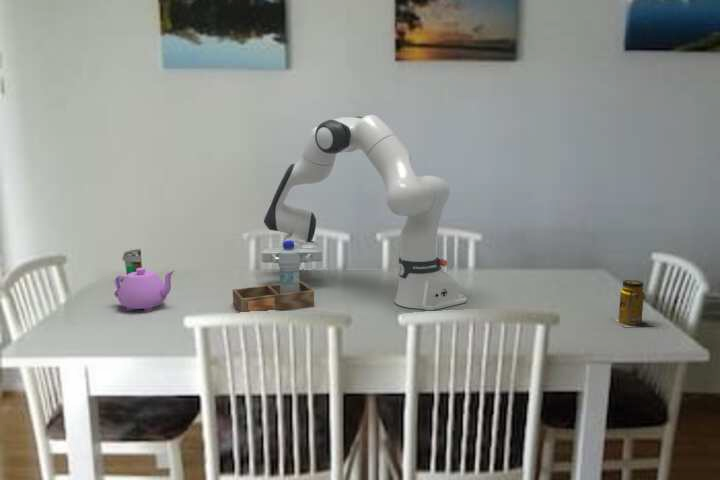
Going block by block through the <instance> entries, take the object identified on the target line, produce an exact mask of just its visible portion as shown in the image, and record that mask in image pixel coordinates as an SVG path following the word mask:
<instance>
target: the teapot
mask: <svg viewBox="0 0 720 480" xmlns="http://www.w3.org/2000/svg"><path fill="white" fill-rule="evenodd" d="M174 272H176V269H174V270H171V271H168V272H167V273H165V277H164V282H163V281H162V279H161V277H160V276H159V275H158V274H157V273H156V272H154V271H153V270H152V271H151V270H147V269H146V267H142V268H137V269H136V272H132V273H129V274H128V275H127V274H125V273H122V274H119V275H117V276H116V277H115V279H114V283H115V286H116V289H117V290H115V291H114V297H115V298H117V300H118V303H120V304H121V305H122V306H123V307H124V308H126V309H125V311H127V312H128V311H134V310H139V309H140V310H141V309H142V310H144V312H151V311H153V308H154V307H158V306H160V305H162V303H163V302H165V300H166V298H167V295H169V293H170V291H171V288H172V281H171V280H172V279H171V278H172V275H173V273H174ZM121 278H122V279H123V281H122V282H120V279H121ZM120 283H121V284H120Z"/></svg>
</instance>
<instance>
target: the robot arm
mask: <svg viewBox="0 0 720 480" xmlns="http://www.w3.org/2000/svg"><path fill="white" fill-rule="evenodd" d="M358 150H361V151H362V152H363V153H364V155H365V156H366V158H368V160H369V162H371V164H372V166H373V167H374V168H375V170H376V172H378V174H379V176H380V177H381V179H382V181H383V182H384V183H383V184H384V187H385V188H386V189H385V190H386V204H387V207H388V209H389V210H390V211H391V212H392V213H393V214H394V215H396V216H401V217H406V222H405V224H404V225H403V228H402V229H401V232H400V235H399V236H400V237H399V241H400V242H399V244H400V246H399V248H400V249H399V251H400V252H399V254H400V255H399V257H398V268H397V269H398V276H399V277H398V285H397V290H396V296H395V297H394V303H395V304H396V305H398V306H400V307H404V308H409V309H417V310H418V309H420V310H425V311H435V309H436V310H439V309H444V308H448V307H452V306H458V305H461V304H464V303H467V297H466V296H465V295H464V294H463V293H460V288H459V283H458V282H457V280H456V279H455V278H454V277H452V276H451V275H449V274H448V273H447V272H446V271H444V270H443V269H442V267H447V266H448V261H447V260H446V259H443V258H441V259H440V258H439V257H437V243H438V242H437V236H438V230H439V225H440V221H441V217H442V213H443V210H444V207H445V205H446V203H447V201H448V199H449V196H450V188H449V185H448V183H447V182H446V181H445V179H443V178H442V177H439V176H436V175H435V176H434V175H431V174H430V175H429V174H428V175H423V176H418V175H417V173H416V172H415V171H414V168H413V166H412V162H411V160H412V156H411V153H410V152H409V150H408V149H407V148H406V147H405V145H404V144H403V143H402V141H401V140H400V139H399V137H398V136H397V135H396V134H395V132H394V131H393V130H392V129H391V127H390V126H388V124H386V123H385V122H384V121H383V120H382V119H381V118H380V117H378V116H377V115H375V114H367V115H365V116H353V117H351V116H348V117H345V116H343V117H337V118H334V119H328V120H325V121H323V122H321V123H320V124H319V125H317V126H315V127H314V128H312V130H311V131H310V133H309V135H308V137H307V140H306V142H305V145H304V147H303V150H302V154H301V156H300V158H299V160H298V161H297V162H296V163H292V164H290V165H289V166H288V167H287V169H286V171H285V172H284V174H283V177H282V179H281V180H280V183H279V184H278V187H277V189H276V191H275V193H274V196H273V198H272V200H271V202H270V203H269V204H268V206H267V207H266V209H265V211H264V215H263V223H264V225H265V227H267V229H268V230H269V231H275V232H280V233H285V234H286V235H285V236H284V238H283V239H282V242H281V246H280V247H266V248H264V249H263V250H262V251H261V262H262V263H274V264H279V263H278V259H279V251H281V250H282V249H284V248H283V243H284V242H285V241H293V242H294V249H296V250H298V251H299V257H300V264H301V263H309V262H311V263H312V262H322V261H323V249H322V247H321V246H320V245H319V243H318V241H313V238H314V236H315V232H316V227H317V219H316V215H315V214H314V213H313V212H312V211H310V210H306V209H303V208H299V207H295V206H292V205H291V206H290V205H287V204H285V203H284V202H285V200H286V199H287V196H288V194H289V193H290V191H291V189H292V188H294V187H295V186H299V185H305V184H306V185H309V184H310V185H311V184H318V183H320V182H323V181H325V180H326V179H328V177H329V176H330V174H331V172H332V170H333V167H334V164H335V162H336V161H335V160H336V157H337V154H341V153H351V152H355V151H358Z"/></svg>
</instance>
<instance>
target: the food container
mask: <svg viewBox="0 0 720 480" xmlns="http://www.w3.org/2000/svg"><path fill="white" fill-rule="evenodd" d="M121 260H122V261H124V266H125V271H126V275H128V274H129V273H132V272H136V269H137V268H143V263H142V262H143V261H142V249H141V248H136V249H130V250H126V251H125V252H123V255H122V259H121Z"/></svg>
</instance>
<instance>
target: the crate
mask: <svg viewBox="0 0 720 480" xmlns="http://www.w3.org/2000/svg"><path fill="white" fill-rule="evenodd" d="M299 286H300V292H293V293H284V294H280V283H277V284H268V285H260V286H250V287H240V288H234V289H232V305H233V306H235V309H236V311H237V312H238V311H239V312H250V311H268V310H283V311H289V310H290V311H291V310H297V309H304V308H311V307H315V290H314V289H312V288H311V287H310V286H309V285H308V284H306V283H304V282H303V281H299ZM239 312H238V313H239Z"/></svg>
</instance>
